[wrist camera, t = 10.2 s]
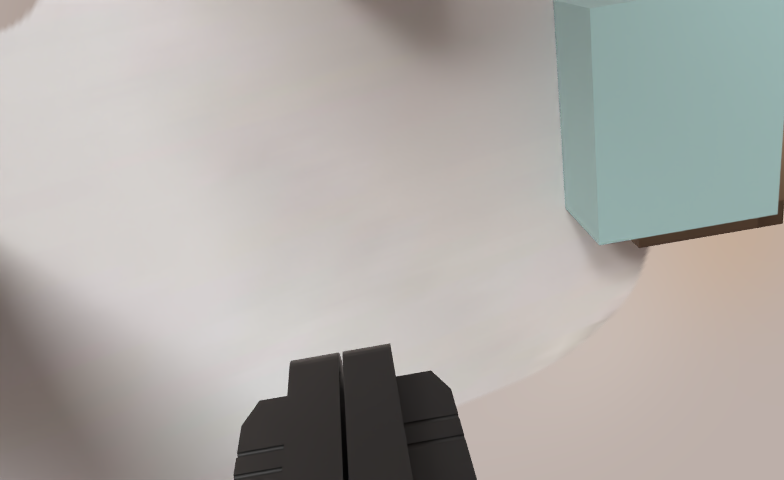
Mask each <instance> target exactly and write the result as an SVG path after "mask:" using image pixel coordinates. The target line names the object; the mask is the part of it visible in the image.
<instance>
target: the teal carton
mask: <svg viewBox="0 0 784 480" xmlns="http://www.w3.org/2000/svg"><path fill="white" fill-rule="evenodd" d="M553 3H554V20H555V37H556V54H557V71H558V88H559V105H560V122H561V139H562V156H563V173H564V190H565V207H566V209H567V211H568V212H569V213H570V214H571V215H572V216H573V217H574V218H575V219H576V220H577V221H578V223H579V224H580V225H581V226H582V227H583V228H584V229H585V230H586V231H587V232H588V234H589V235H590V236H591V237H592V238H593V239H594V240H595V241H596V242H597V243H598V244H599V245H604V244H610V243H616V242H621V241H627V240H633V239H638V238H644V237H650V236H656V235H661V234H667V233H673V232H679V231H684V230H690V229H696V228H701V227H707V226H713V225H719V224H724V223H730V222H736V221H742V220H747V219H753V218H759V217H764V216H770V215H776V214H778V200H779V185H780V170H781V155H782V140H783V125H784V0H553Z"/></svg>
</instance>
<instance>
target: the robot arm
mask: <svg viewBox="0 0 784 480" xmlns="http://www.w3.org/2000/svg"><path fill="white" fill-rule="evenodd" d="M237 454H238V458H236V463H235V469H234V480H477V478H476V475H475V471H474V468H473V464H472V461H471V458H470V454H469V450H468V447H467V443H466V440H465V438H464V433H463V429H462V426H461V423H460V419H459V417H458V412H457V408H456V405H455V401H454V398H453V395H452V391H451V389H450V388H449V387H448V386H447V385H446V384H445V383H444V382H443V381H442V380H441V379H439V378H438V377H437V376H436V375H435V374H434V373H433V372H432V371H426V372H420V373H415V374H409V375H403V376H397V377H396V375H395V369H394V363H393V358H392V352H391V346H390V344H384V345H379V346H373V347H367V348H361V349H356V350H350V351H344V352H343V364H342V360H341V356H340V354H339V353H334V354H328V355H322V356H316V357H311V358H305V359H299V360H293V361H291V362H290V368H289V382H288V395H287V396H284V397H279V398H273V399H267V400H262V401H259V402H258V404H257V405H256V407H255V408H254V409H253V411H252V412H251V414H250V415H249V416H248V418H247V419H246V421H245V422H244V423H243V425H242V426H241V433H240V439H239V445H238V451H237Z"/></svg>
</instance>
